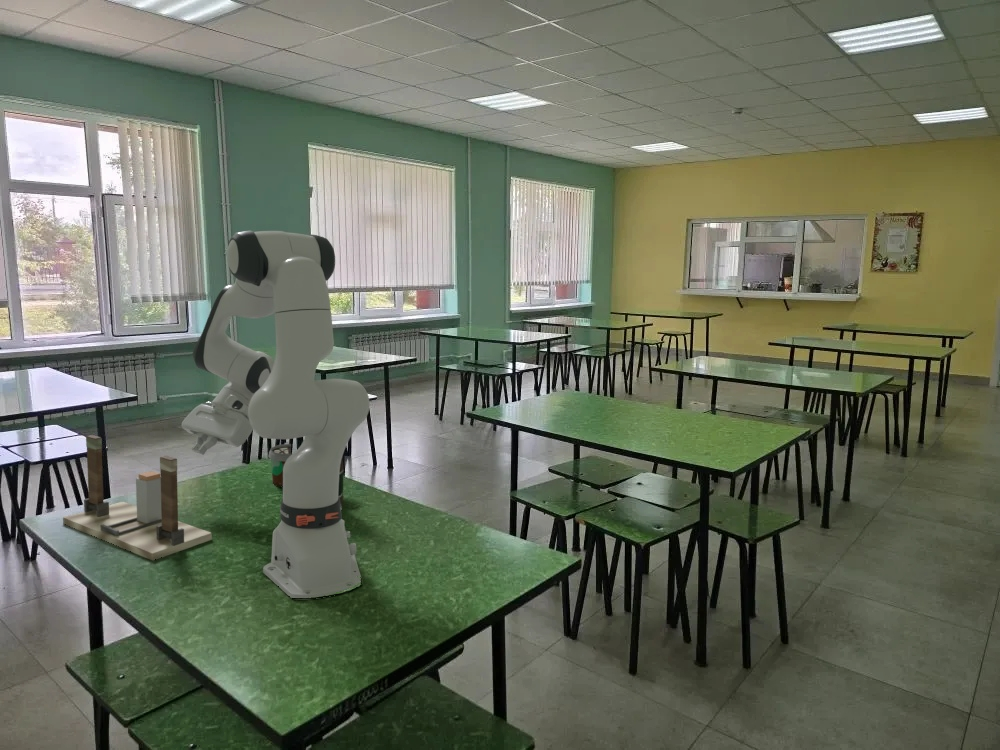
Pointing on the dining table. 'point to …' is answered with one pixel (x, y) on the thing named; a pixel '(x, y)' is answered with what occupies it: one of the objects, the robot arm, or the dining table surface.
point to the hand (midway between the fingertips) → (197, 452)
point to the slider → (148, 497)
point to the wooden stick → (94, 470)
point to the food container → (279, 462)
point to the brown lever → (169, 495)
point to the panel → (134, 530)
